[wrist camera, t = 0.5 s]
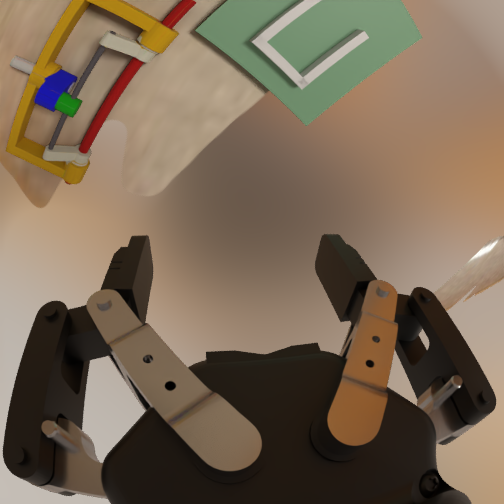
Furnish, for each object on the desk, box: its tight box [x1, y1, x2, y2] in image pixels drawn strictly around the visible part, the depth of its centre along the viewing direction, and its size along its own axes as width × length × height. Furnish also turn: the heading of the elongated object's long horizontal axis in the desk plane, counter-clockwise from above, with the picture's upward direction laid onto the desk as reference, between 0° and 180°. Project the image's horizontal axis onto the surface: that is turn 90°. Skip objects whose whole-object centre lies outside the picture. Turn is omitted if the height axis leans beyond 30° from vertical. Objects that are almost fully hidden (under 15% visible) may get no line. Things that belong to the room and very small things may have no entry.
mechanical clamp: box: [6, 0, 196, 184], centre depth 22 cm, size 18×6×30 cm
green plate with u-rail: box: [195, 0, 422, 126], centre depth 24 cm, size 20×24×3 cm
